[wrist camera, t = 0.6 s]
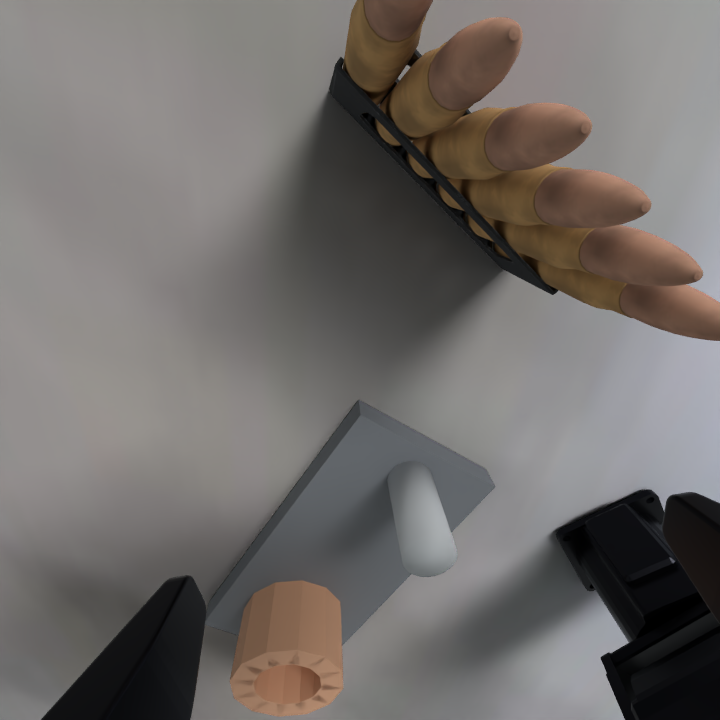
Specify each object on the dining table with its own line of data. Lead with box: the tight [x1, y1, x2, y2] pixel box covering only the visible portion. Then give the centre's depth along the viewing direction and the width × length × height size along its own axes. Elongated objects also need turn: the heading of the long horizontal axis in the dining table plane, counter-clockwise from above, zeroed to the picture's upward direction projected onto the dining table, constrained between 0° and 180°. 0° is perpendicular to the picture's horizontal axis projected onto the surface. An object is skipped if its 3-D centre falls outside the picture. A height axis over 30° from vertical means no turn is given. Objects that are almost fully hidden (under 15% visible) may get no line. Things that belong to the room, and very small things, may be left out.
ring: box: [230, 580, 343, 717], centre depth 24 cm, size 6×6×4 cm
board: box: [205, 400, 495, 645], centre depth 23 cm, size 18×9×6 cm, turn 146°
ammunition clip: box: [329, 0, 720, 341], centre depth 12 cm, size 11×2×12 cm, turn 49°
